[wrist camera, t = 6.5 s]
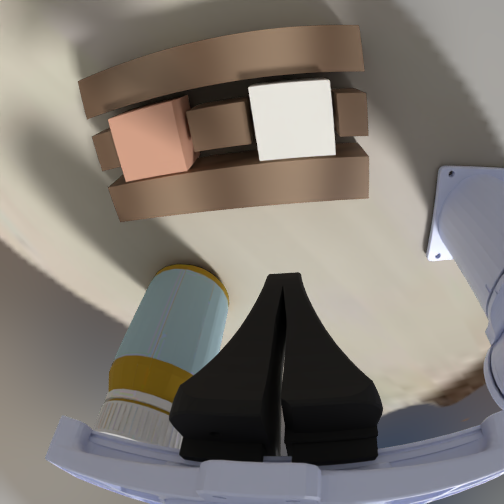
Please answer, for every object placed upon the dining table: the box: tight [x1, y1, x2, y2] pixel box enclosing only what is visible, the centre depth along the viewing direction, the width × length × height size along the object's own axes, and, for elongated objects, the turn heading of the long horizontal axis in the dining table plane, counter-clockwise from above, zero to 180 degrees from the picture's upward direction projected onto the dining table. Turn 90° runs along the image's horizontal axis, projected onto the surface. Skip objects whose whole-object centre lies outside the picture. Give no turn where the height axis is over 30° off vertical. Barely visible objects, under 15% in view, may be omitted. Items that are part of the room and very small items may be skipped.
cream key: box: [248, 77, 336, 161], centre depth 16 cm, size 4×4×3 cm
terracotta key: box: [108, 95, 200, 182], centre depth 17 cm, size 4×4×3 cm
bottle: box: [93, 264, 229, 449], centre depth 21 cm, size 7×7×15 cm
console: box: [78, 25, 369, 222], centre depth 17 cm, size 16×10×3 cm, turn 99°
